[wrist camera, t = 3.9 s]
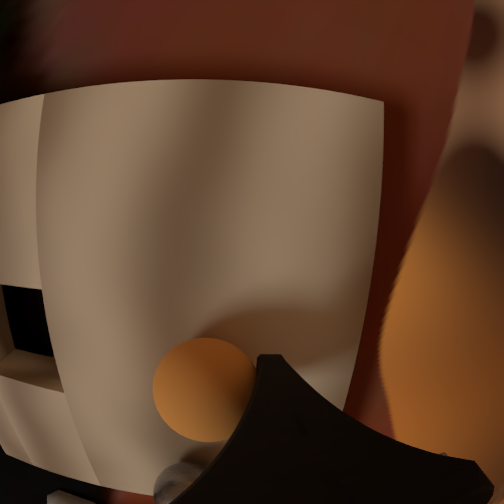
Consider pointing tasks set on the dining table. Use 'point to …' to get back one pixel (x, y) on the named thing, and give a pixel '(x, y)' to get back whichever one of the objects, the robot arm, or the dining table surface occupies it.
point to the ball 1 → (204, 388)
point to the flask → (65, 498)
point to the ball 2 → (176, 480)
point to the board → (177, 254)
